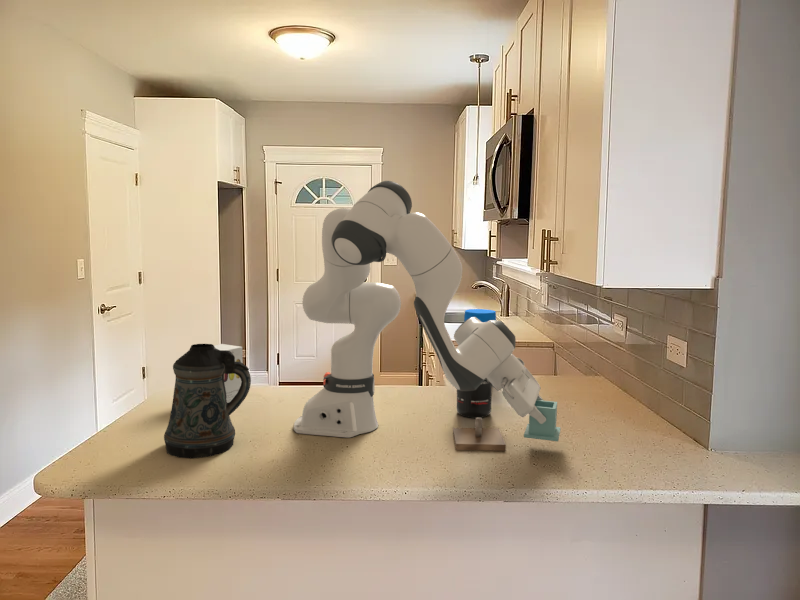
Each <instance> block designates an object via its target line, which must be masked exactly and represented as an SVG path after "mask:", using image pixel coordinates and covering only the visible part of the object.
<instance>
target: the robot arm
mask: <svg viewBox="0 0 800 600" xmlns="http://www.w3.org/2000/svg"><path fill="white" fill-rule="evenodd" d="M412 202H413V201H412V198H411V196H410V194H409V192H408V190H406V189H405V187H404V186H402V185H401V184H399V183H397V182H395V181H393V180H392V181H391V180H383V181H380V182H379V183H376V184H375V185H373V186H372V187H370V189H368V191H367V193H365V194H364V195H363V196H362V197H361V198H359V199H358V200H357V201H356V202H355V204H353V205H352V207H351V208H345V207H342V208H341V207H340V208H336V209H334V210H333V209H332V211H330V212H328V213H327V215H326V216H325V217H324V220H323V222H322V229H321V248H322V255H323V263H324V264H323V265H324V266H323V267H324V272H323V274H322V277H320V278H319V279H318V280H317V281H316V282H313V283H311V284H309V286H308V287H306V290H305V291H304V293H303V297H302V300H301V301H302V304H301V305H302V309H303V311H304V314H305V315H306V317H307V318H308V319H309V320H310V321H315V322H319V323H323V324H348V325H349V324H351V325H354V328H353V331H352V332H350V333H349V334H347V335H345V336H342V337H341V338H339V339H337V340H336V341H335V342H334V343H333V344H332V346H331V349H330V372H329V371H328V372H325V373H324V375H323V380H322V381H323V382H322V383H323V384H322V385H323V388H322V389H321V390H320V391H318V392H317V393H316V394H314V395H313V396H311V397H310V398H308V400H307V401H306V403H305V404H304V407H303V410H302V415H300V416H298V418H296V420H295V421H294V422H293V431H294V432H295V433H297V434H303V435H313V436H314V435H315V436H327V437H337V438H347V439H348V438H353V437H356V436H358V435H360V434H366V433H369V432H373V431H374V430H376V429H377V428H378V427H379V422H378V419H377V415H376V414H377V413H376V410H375V401H374V395H375V384H376V382H375V374H374V373H373V367H374V365H373V364H374V350H375V346H376V345H375V344H376V341H377V340H378V337H379V335H380V334H381V333H382V331H383V330H384V329H385V328H386V327H387V326H388V325H389V324H390V323H392V322H393V321H394V320H395V319H396V318H397V317H398V315H399V314H400V311H401V306H402V305H401V304H402V301H401V300H402V299H401V295H400V293H399V291H398V290H397V289H396V287H395V286H394V285H391V284H386V283H382V282H377V281H376V282H375V281H374V282H369V281H368V282H367V281H366V280H367V278H368V277H369V275H370V273H371V264H372V263H382V262H384V261H385V260H386V258H387V254H391V255H392V256H394V257H396V258H397V260H399V262H400V263H401V264H402V265H403V267H404V269H405V271H407V273H408V274H409V276H410V278H411V279H412V281H413V285H414V289H415V299H414V300H413V306H414V309H415V313H416V315H417V318H418V319H419V322H420V323H421V326H422V328H423V330H424V332H425V334H426V336H427V338H428V340H429V342H430V344H431V346H432V349H433V350H434V352H435V354H436V357H437V358H438V360H439V363H440V366H441V367H440V368H441V369H442V371H443V374H444V376H445V378H446V380H447V381H448V382H449V384H450V385H451V386H452V387H454V389H456V391H457V390H459V391H473V390H476V389H477V388H478V387H479V385H480V384H481V383H482V382H483V381H484V379H485V378H487V379H488V381H489V382H490V383H491V384H492V387H493V388H495V389H496V390H497V391H500V390H502V391H501V395H502V397H504V399H505V401H506V402H507V403H508V405H510V407H511V408H512V410H514V412H515V413H516V414H517V415H518V416H520V417H521V418H524V417H526V416H527V415H528V416H529V415H530V416H532V417H533V418H535V419H536V420H537V421H538V422H539V423H540V424H543V423H544V422H545V421H546V416H545V415H544V414H543V413H541V412H540V411H539V410H538V409H537V407H536V406H535V402H536V400H543V398H542V396H541V395H540V391H541V386H540V383H539V382H538V381H537V379H536V378H535V376H534V375H533V374H532V373H531V372H530V371H529V369H528V368H527V367H526V366H525V362H524V361H523V359H521V358H520V357H516V356H515V354H513V352H514V351H515V349H516V345H517V344H516V342H517V341H516V335H515V334H514V332H512V330H511V329H510V328H509V327H508V326H507V325H506V324H505V323H504V322H503V321H501V320H497V319H496V320H489V321H488V322H481V321H480V320H479V319H478V318H476V317H471V318H469V319H467V320H466V321H465V322H464V321H463V322H462V323H461V324H460V325H459V326H458V327H457V329H456V330H455V332H454V334H453V339H454V340H455V342H456V344H457V347H456V346H455V344H454V342H453V339H452V338H451V336H450V334H449V331H448V329H447V328H446V325H445V315H446V313H447V310H448V307H449V306H450V303H451V301H452V299H453V297H454V296H455V295H456V293H457V291H458V289H459V287H460V285H461V282H462V279H463V278H462V277H463V264H462V261H461V259H460V257H459V255H458V253H457V252H456V250H455V249H454V247H453V246H452V245H451V244H452V243H450V241H449V240H448V238H447V237H446V236H445V235H444V234H443V232H442V231H441V230H440V228H438V227H437V225H435V223H434V222H433V221H432V220H430V218H428V216H427V215H426V214H423V213H421V212H411V210H412V207H413V203H412ZM365 281H366V282H365ZM458 345H459V346H458ZM543 401H544V400H543Z"/></svg>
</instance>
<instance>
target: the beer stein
mask: <svg viewBox="0 0 800 600" xmlns="http://www.w3.org/2000/svg"><path fill="white" fill-rule="evenodd" d="M214 346H215V344H212V343H196V344H192V345H191V346H190V348H189V349H188V350H187V352H185V353H184V354H183V355H181V356H180V357H179V358H177V359H176V361H174V363H173V365H172V370H173V374H174V375H175V382H174V388H173V396H172V397H173V399H172V403H171V404H172V405H171V411H170V415H169V416H170V417H169V420H168V422H167V423H168V424H167V427H166V430H165V432H164V434H163V440H164V444H165V449H166V454H168V455H169V456H173V457H175V458H180V459H181V458H182V459H199V458H210V457H213V456H217V455H221V454H223V453H225V452H228V451H229V450H230V449H231V448H232V447H233V446H234V442H235V441H234V440H235V438H236V437H235V435H236V429H235V427H234V425H233V423H232V420H231V416H230V415H231V414H233V413H234V412H235V411H236V410H237V409H238V408H239V407H240V406H241V404H242V403H243V402H244V401H245V399H246V397H247V396H248V394H249V392H250V389H251V383H252V378H251V377H252V376H251V373H250V370H249V369H250V368H249V367H248V366H247V365H245V364H244V363H241V362H239V361H237V362H235V356H234V355H233V354H232V353H231V351H228V350H218V349H216V348H215V347H214ZM224 373H225V374H233V373H234V374H237V375H238V376H239V377H240V378H241V381H242V382H241V386H240V388H239V391H238V393H237V394H236V395H235V397H234V398H233V399H232V400H231V401H230V402H229V403H227V400H226V398H227V397H226V389H225V383H224Z"/></svg>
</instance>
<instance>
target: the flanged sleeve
mask: <svg viewBox="0 0 800 600" xmlns="http://www.w3.org/2000/svg"><path fill="white" fill-rule="evenodd" d="M535 406H536V407H537V409H538V410H539V411H540V412H541V413H543V414H544V415H545V416H546V421H545V422H544V423H543V424H540V423H539V422H538V421H537V420H536V419H535V418H533V417H532V416H530V415H529V414H528V417H529V418H528V423H527V425H526V428H525V430H524V434H523V438H527V439H534V440H543V441H550V442H559V439H560V434H561V427H560V426H557V421H558V420H557V415H558V414H557V413H558V401H550V400H536V402H535Z"/></svg>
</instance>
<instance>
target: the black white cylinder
mask: <svg viewBox="0 0 800 600" xmlns="http://www.w3.org/2000/svg"><path fill="white" fill-rule="evenodd" d="M458 346H459V345H458V344H457V347H458ZM492 390H493V385H492V384H491V383H490V382H489V381H488V379H487V378H485V379H484V381H483V382H482V383H481V384H480V385H479V387H478V388H477V389H476V390H473V391H459V390H457V389H456V411H457V413H458V414H459V415H460V416H463V417H466V418H471V419H476V418H477V417H479V418H485V417H487V416H489V415H490V414H491V412H492V394H493V393H492V392H493V391H492Z"/></svg>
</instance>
